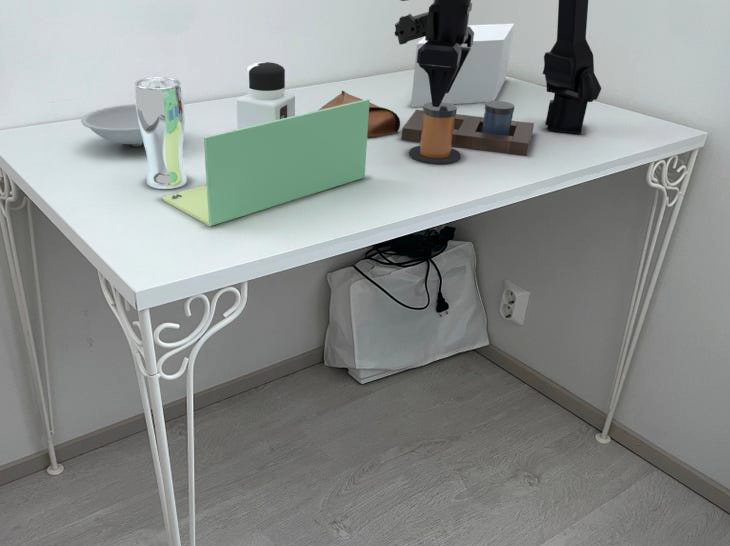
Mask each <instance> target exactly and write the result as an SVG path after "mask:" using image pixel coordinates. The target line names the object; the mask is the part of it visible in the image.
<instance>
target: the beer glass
mask: <svg viewBox="0 0 730 546" xmlns="http://www.w3.org/2000/svg"><path fill="white" fill-rule="evenodd" d="M134 87H135V88H134V92H135V93H134V94H135V104H136V113H137V120H138V125H139V130H140V133H141V137H142V140H143V143H142V145H143V147H144V151H145V153H146V161H147V173H146V183H147V185H148V186H149V187H151V188H153V189H157V190H174V189H178V188H181V187H183V186H185V185H186V184H187V181H188V179H187V175H186V171H185V167H184V160H183V148H184V139H185V127H186V126H185V125H186V124H185V123H186V117H185V105H184V104H185V103H184V98H183V90H182V82H181V81H180V80H179V79H178V78H173V77H167V76H166V77H165V76H153V77H145V78H140V79H138V80H136V81H135V82H134Z"/></svg>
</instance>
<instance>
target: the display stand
mask: <svg viewBox="0 0 730 546" xmlns="http://www.w3.org/2000/svg"><path fill="white" fill-rule="evenodd" d="M369 102H370V99H368V98H367V99H366V98H365V99H362V100H361V101H357V102H353V103H349V104H344V105H340V106H336V107H331V108H327V109H323V110H319V109H317V110H318V111H317V110H315V111H310V112H307V113H302V114H301V113H300V114H297V115H295V116H293V117H288V118H284V119H280V120H275V121H271V122H267V123H263V124H258V125H254V126H250V127H245V128H241V129H233V130H229V131H224V132H219V133H216V134H211V135H207V136H203V149H204V164H205V165H204V167H205V180H206V181H205V182H206V184H204V185H200V186H196V187H192V188H189V189H186V190H185V189H184V190H182V191H179V192H175V193H171V194H167V195H164V196H162V197H161V199H162V201H164V202H165V203H167V204H169V205H171V206H172V207H174V208H175V209H176V208H177V210H179V211H182V212H183V213H185V214H187V215H188V216H191V217H192V218H194V219H196V220H198V221H200V222H201V223H203V224H205V225H206V226H208V227H213V226H215V225H219V224H222V223H226V222H229V221H232V220H235V219H238V218H241V217H244V216H247V215H251V214H255V213H257V212H261V211H263V210H266V209H270V208H273V207H276V206H279V205H282V204H286V203H289V202H291V201H295V200H298V199H301V198H305V197H308V196H311V195H314V194H318V193H321V192H324V191H326V190H327V191H328V190H330V189H333V188H336V187H340V186H342V185H346V184H349V183H352V182H356V181H359V180H361V179H364V178H365V176H366V165H367V164H366V163H367V147H368V136H367V132H368V116H369Z"/></svg>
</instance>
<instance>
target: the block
mask: <svg viewBox="0 0 730 546" xmlns="http://www.w3.org/2000/svg"><path fill="white" fill-rule="evenodd" d="M468 27H470V28H471V29H472V31H473V32H474V39H473V45H472V46H471V47H468V48H471V50H470V52H469V54H468V55H467V57H466V59H465V61H464V63H463V65H462V67H461V69H460V71H459V73H458V75H457V77H456V79H455V81H454V83H453V85H452V87H451V89H450V91H449V93H446V94H445V96H444V98H443V100H442V102H445V103H450V104H453V105H461V104H463V105H464V104H476V103H486V102H489V101H496V99H497V97H498V95H499V93H500V91H501V89H502V87H503V85H504V84H505V82H506V78H507V77H506V76H507V71H508V65H509V60H510V59H509V58H510V53H511V46H512V40H513V33H514V27H515V23H493V24H491V23H490V24H468ZM426 42H427V41H426V40H425V36H424V37H422V38H421V39H420V40H419V41H418V42H417V43H416V49H415V59H414V71H413V81H412V92H411V101H410V103H411V104H410V108H418V107H419V108H420V107H424V104H426V103H429V102H432V99H431V91H430V84H429V77H428V74H427V73H426V72H425V70H424V69H423V68H421V67H420V66H419V63H417V55H418V50H419V49H420V48H421V47H422V46H423V45H424V44H425V43H426ZM462 47H467V44H463V45H462Z"/></svg>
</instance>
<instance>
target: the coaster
mask: <svg viewBox="0 0 730 546" xmlns="http://www.w3.org/2000/svg"><path fill="white" fill-rule="evenodd" d="M419 151H420V145H417V146H413V147H411V148H410V149H409V150H408V156H409V157H410V158H411V159H412V160H414V161H416V162H420V163H423V164H430V165H450V164H455V163H457V162H459V161H460V160H461V157H462V154H461V152H460V151H458V150H457V149H456V148H452V147H451V154H450V156H448V157H445V158H430V157H426V156H423V155H421V154H420V152H419Z"/></svg>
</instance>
